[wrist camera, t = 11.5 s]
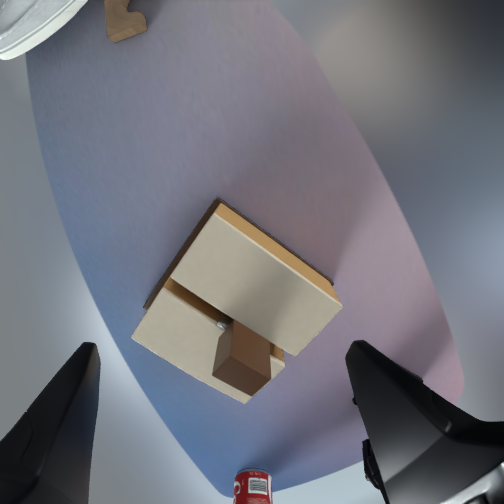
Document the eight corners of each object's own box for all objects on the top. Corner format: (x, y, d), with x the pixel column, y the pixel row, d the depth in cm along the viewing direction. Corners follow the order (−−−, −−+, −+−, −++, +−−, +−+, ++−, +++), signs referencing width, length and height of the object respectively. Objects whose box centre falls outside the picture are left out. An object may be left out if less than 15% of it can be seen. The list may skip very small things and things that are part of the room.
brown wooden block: (273, 310, 26) (281, 384, 17) (259, 326, 27) (260, 402, 18) (231, 282, 26) (219, 349, 17) (217, 299, 26) (201, 370, 17)
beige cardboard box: (333, 281, 26) (349, 309, 21) (250, 370, 29) (249, 407, 24) (217, 196, 24) (207, 208, 19) (144, 304, 27) (124, 334, 22)
